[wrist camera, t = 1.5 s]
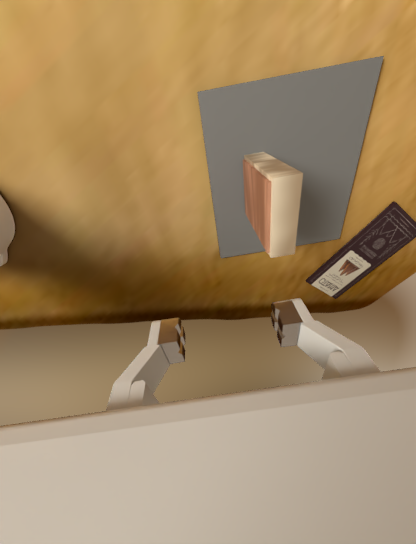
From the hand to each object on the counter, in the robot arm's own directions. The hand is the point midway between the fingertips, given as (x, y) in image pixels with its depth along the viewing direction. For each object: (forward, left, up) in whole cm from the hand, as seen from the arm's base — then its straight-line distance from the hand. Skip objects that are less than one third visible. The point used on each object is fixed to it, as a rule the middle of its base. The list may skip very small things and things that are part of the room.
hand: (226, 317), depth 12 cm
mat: (+11, 0, -23) cm, 26 cm away
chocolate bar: (+26, -16, -24) cm, 39 cm away
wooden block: (+7, 0, -22) cm, 24 cm away
